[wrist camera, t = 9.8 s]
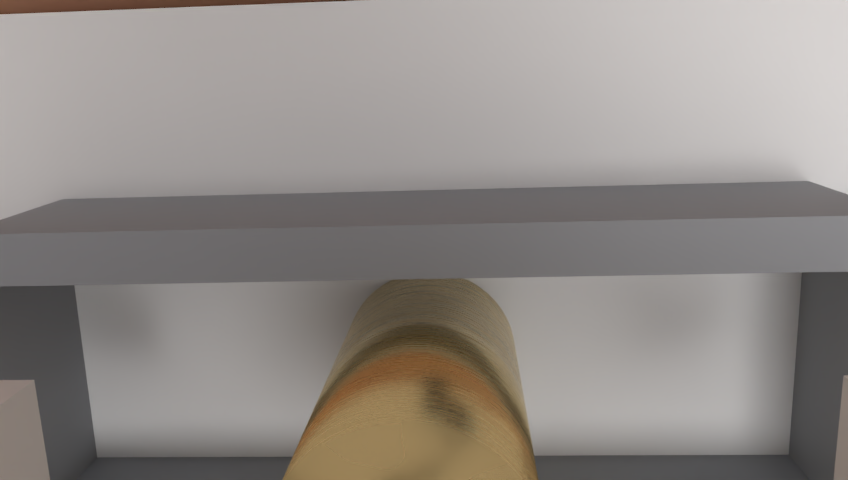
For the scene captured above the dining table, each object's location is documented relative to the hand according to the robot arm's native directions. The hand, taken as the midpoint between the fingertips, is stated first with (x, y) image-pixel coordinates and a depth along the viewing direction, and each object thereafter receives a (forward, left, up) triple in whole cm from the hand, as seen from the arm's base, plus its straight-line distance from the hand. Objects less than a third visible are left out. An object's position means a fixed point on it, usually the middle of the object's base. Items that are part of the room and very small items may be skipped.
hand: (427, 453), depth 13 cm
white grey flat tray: (0, 0, -7) cm, 7 cm away
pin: (0, 0, -6) cm, 6 cm away
